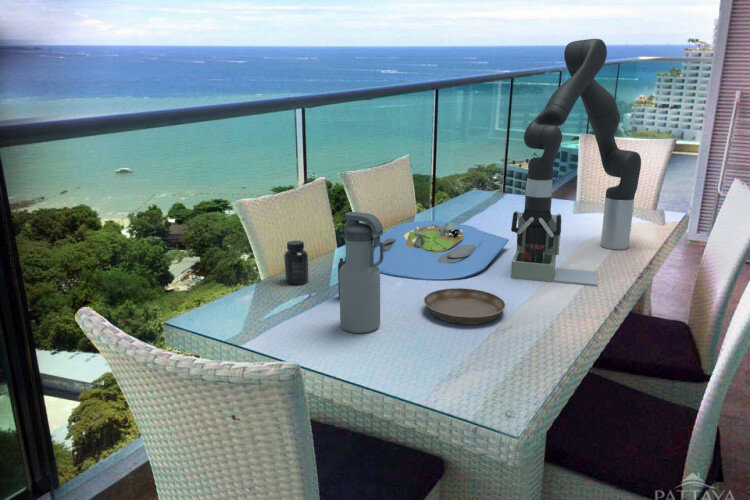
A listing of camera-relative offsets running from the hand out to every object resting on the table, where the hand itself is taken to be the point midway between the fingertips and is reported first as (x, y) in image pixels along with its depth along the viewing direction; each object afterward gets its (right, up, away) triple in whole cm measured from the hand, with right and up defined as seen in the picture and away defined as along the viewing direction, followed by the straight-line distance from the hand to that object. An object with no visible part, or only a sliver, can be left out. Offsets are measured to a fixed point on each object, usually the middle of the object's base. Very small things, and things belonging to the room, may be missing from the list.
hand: (534, 247), depth 190 cm
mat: (+12, -9, -1) cm, 15 cm away
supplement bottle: (-71, -10, -4) cm, 72 cm away
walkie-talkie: (-55, -14, -17) cm, 60 cm away
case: (0, -8, +2) cm, 8 cm away
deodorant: (0, -8, +2) cm, 9 cm away
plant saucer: (-25, -17, -27) cm, 40 cm away
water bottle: (-51, -20, -35) cm, 65 cm away
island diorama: (-30, -4, +19) cm, 36 cm away
